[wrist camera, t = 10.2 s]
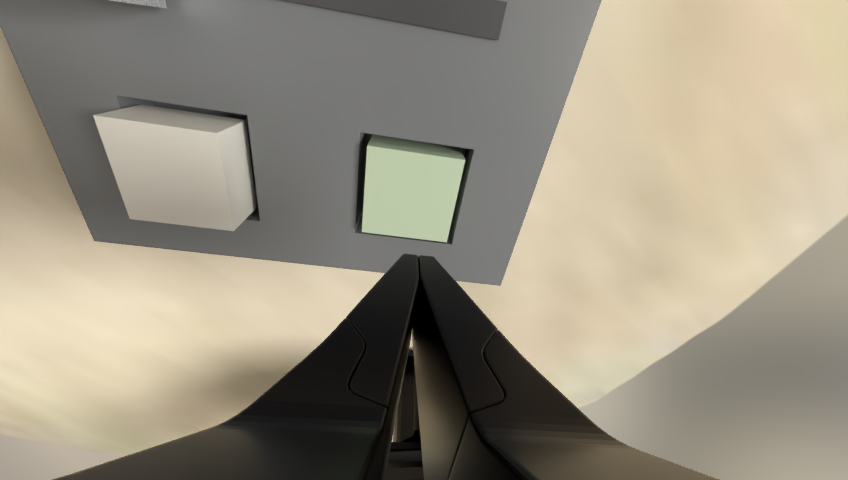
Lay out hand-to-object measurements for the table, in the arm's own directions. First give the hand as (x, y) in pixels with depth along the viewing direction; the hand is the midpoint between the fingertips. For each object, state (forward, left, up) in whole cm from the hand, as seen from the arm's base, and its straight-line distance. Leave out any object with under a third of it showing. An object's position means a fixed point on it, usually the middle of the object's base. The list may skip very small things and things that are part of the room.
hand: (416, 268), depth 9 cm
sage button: (-1, 0, -9) cm, 10 cm away
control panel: (+2, +5, -11) cm, 12 cm away
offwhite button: (-1, +10, -8) cm, 13 cm away
